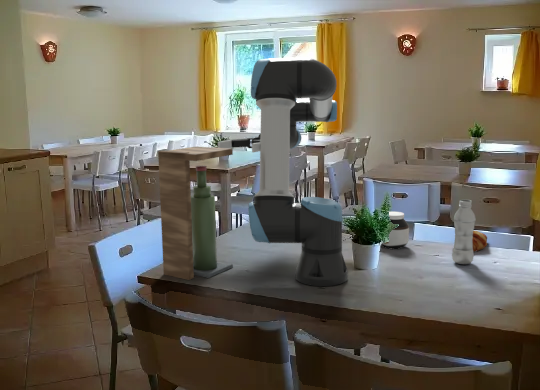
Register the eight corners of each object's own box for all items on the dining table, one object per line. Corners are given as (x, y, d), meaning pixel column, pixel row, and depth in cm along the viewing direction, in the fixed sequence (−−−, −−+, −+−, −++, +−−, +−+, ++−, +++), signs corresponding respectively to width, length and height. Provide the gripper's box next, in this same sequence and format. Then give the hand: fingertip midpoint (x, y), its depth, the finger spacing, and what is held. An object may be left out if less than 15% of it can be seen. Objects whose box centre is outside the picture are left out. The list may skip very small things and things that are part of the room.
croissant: (476, 250, 212) (467, 229, 214) (501, 241, 206) (492, 220, 207) (448, 261, 197) (439, 239, 199) (475, 253, 190) (465, 229, 192)
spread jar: (411, 247, 204) (413, 214, 202) (390, 253, 197) (391, 219, 195) (384, 240, 213) (385, 208, 211) (363, 246, 206) (364, 213, 204)
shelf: (200, 260, 191) (196, 145, 184) (235, 267, 184) (232, 148, 177) (163, 274, 177) (158, 151, 170) (199, 282, 170) (195, 153, 163)
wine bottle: (220, 268, 181) (217, 166, 175) (198, 271, 178) (193, 168, 172) (212, 261, 187) (208, 164, 182) (189, 265, 184) (185, 165, 178)
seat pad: (200, 260, 191) (200, 257, 190) (232, 267, 184) (232, 264, 183) (175, 270, 181) (174, 267, 180) (208, 277, 174) (208, 274, 173)
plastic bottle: (474, 261, 187) (477, 199, 183) (471, 267, 181) (475, 203, 177) (453, 259, 189) (456, 198, 186) (450, 265, 183) (453, 201, 180)
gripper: (302, 153, 201) (268, 160, 184) (242, 150, 215) (205, 156, 197) (302, 131, 200) (267, 136, 182) (242, 129, 213) (204, 133, 196)
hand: (235, 146), depth 190 cm, fingers open, 13 cm apart
